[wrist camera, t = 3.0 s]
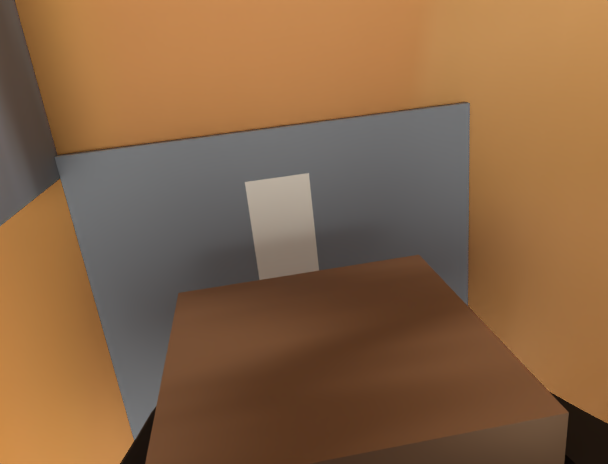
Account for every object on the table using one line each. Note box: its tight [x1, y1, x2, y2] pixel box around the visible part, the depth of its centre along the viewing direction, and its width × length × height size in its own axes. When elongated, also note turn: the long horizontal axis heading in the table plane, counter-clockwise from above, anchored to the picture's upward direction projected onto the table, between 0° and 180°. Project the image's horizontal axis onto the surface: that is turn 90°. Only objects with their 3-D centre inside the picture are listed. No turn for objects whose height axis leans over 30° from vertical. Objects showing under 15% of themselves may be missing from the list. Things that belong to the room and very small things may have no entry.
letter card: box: [55, 102, 470, 441], centre depth 14 cm, size 10×10×1 cm
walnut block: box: [145, 255, 569, 464], centre depth 9 cm, size 5×5×5 cm
